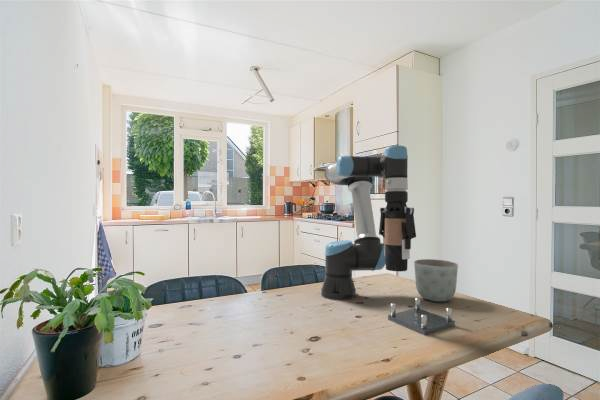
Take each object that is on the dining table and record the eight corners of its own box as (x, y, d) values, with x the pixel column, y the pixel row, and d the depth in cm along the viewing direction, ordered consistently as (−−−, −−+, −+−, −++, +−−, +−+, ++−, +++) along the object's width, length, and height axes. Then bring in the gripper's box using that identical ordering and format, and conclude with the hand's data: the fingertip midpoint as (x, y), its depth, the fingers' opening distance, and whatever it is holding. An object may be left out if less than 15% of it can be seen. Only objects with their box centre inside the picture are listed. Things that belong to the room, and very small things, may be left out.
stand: (388, 319, 111) (388, 303, 111) (417, 311, 119) (417, 297, 119) (424, 335, 98) (424, 317, 98) (454, 325, 106) (454, 308, 106)
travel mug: (409, 272, 105) (408, 211, 106) (384, 271, 107) (384, 211, 107) (407, 268, 112) (406, 211, 113) (384, 266, 114) (384, 211, 115)
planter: (460, 297, 137) (460, 261, 137) (455, 308, 123) (455, 268, 123) (418, 291, 146) (419, 257, 146) (409, 300, 132) (409, 263, 132)
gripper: (368, 192, 118) (368, 254, 117) (411, 189, 100) (411, 262, 99) (383, 192, 121) (384, 252, 121) (428, 189, 103) (428, 260, 102)
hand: (396, 257), depth 110 cm, fingers closed on travel mug, 8 cm apart
